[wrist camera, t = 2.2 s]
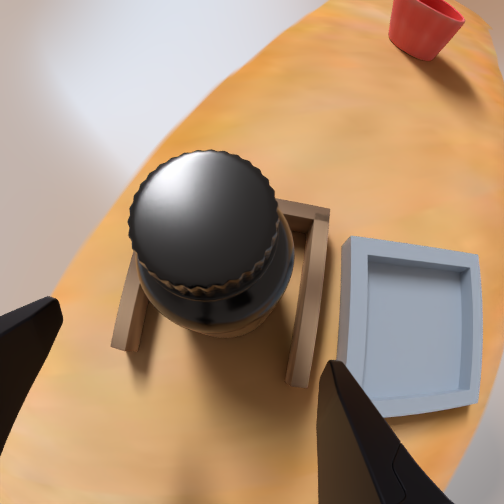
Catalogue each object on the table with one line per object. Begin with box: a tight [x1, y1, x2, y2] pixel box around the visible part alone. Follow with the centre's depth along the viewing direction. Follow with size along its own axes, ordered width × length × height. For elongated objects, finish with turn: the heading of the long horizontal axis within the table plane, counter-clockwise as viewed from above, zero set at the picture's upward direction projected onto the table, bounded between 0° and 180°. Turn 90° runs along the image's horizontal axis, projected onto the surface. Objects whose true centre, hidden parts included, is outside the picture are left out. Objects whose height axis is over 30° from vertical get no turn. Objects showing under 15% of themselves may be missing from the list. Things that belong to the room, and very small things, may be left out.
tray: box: [336, 236, 483, 418], centre depth 19 cm, size 12×12×2 cm
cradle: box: [111, 198, 330, 388], centre depth 19 cm, size 12×12×2 cm
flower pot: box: [389, 0, 465, 61], centre depth 28 cm, size 11×11×10 cm
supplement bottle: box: [128, 150, 295, 338], centre depth 15 cm, size 7×7×12 cm
